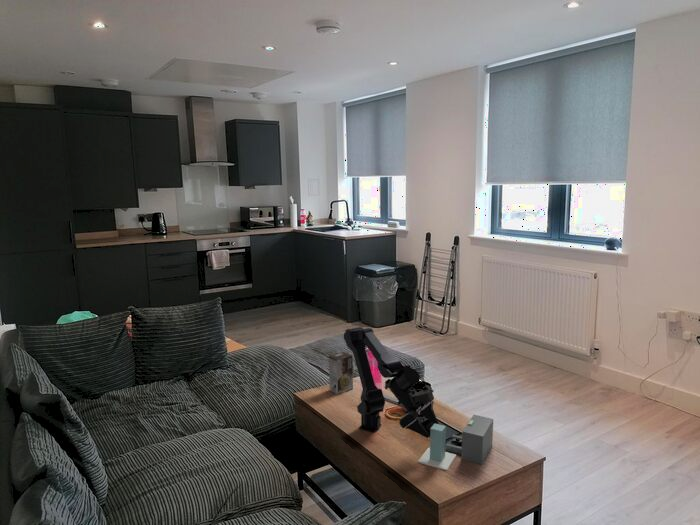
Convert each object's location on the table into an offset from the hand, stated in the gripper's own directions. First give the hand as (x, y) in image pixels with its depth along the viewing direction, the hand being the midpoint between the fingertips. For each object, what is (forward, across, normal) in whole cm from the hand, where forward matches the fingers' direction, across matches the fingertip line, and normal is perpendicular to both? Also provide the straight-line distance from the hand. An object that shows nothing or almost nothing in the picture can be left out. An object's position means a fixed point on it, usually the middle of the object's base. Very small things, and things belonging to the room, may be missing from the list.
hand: (433, 431), depth 167 cm
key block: (+8, 0, +5) cm, 9 cm away
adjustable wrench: (-14, +34, +29) cm, 47 cm away
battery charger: (-7, +37, +21) cm, 43 cm away
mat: (+8, 0, +6) cm, 10 cm away
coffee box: (-32, +34, +47) cm, 66 cm away
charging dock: (+13, +11, 0) cm, 17 cm away
